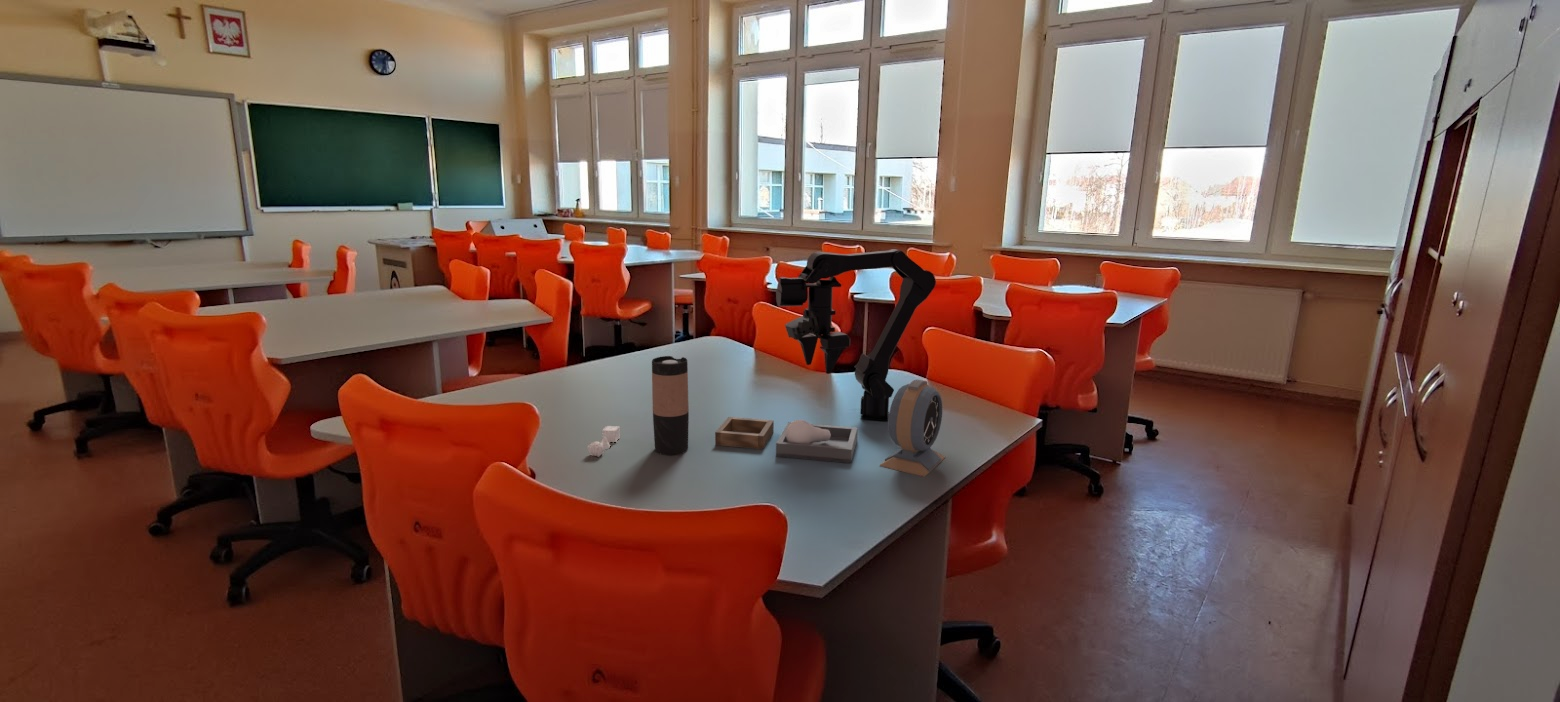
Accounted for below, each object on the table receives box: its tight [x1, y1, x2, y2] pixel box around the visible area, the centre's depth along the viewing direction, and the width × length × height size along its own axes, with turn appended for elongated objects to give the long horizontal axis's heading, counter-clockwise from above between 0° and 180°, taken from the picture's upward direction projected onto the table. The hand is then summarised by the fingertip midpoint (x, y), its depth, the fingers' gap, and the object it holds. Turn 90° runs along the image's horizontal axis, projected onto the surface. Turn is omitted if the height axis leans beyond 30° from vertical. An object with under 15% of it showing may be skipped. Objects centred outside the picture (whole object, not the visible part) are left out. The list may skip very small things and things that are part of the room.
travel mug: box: [651, 355, 690, 456], centre depth 150 cm, size 8×8×20 cm
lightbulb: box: [786, 419, 831, 444], centre depth 153 cm, size 6×6×11 cm
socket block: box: [714, 416, 775, 450], centre depth 159 cm, size 11×11×3 cm
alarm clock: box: [879, 379, 946, 477], centre depth 146 cm, size 14×10×18 cm
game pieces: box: [587, 425, 621, 457], centre depth 152 cm, size 12×3×3 cm, turn 173°
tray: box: [775, 421, 859, 464], centre depth 154 cm, size 16×14×3 cm
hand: (818, 369), depth 170 cm, fingers open, 9 cm apart
